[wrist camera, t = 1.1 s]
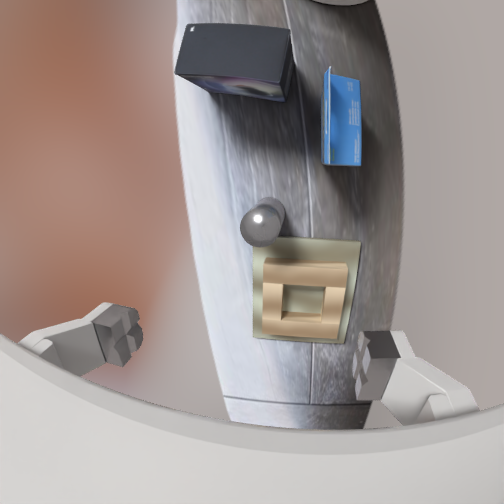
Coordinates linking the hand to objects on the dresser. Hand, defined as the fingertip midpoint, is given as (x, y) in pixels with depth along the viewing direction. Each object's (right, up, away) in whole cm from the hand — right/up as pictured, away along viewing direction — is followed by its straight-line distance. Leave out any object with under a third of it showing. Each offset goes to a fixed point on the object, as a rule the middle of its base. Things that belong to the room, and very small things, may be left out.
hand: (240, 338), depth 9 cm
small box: (0, +25, +21) cm, 33 cm away
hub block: (+8, -3, +29) cm, 30 cm away
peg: (+3, +8, +26) cm, 27 cm away
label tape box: (+11, +18, +21) cm, 30 cm away
